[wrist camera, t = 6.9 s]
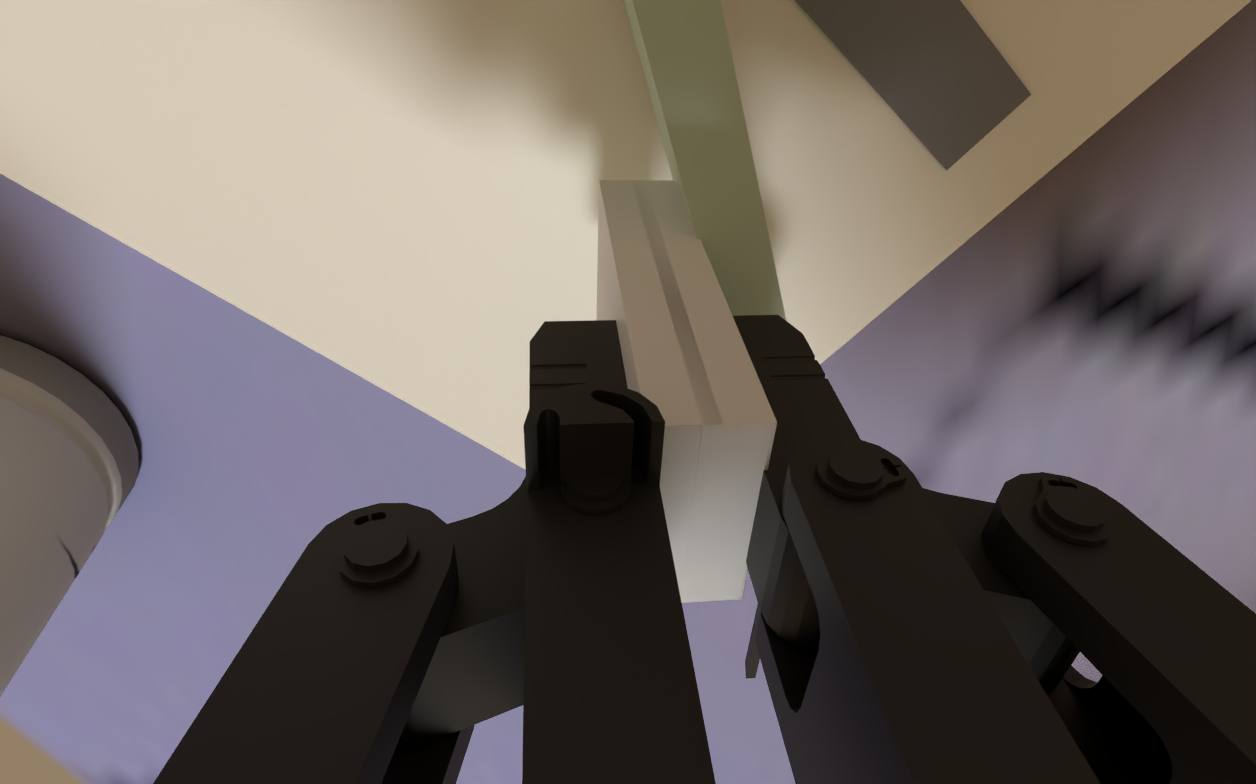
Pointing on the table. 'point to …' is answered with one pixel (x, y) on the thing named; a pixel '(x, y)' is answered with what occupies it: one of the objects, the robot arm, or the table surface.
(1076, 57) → the card
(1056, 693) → the robot arm
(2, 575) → the travel mug
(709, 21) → the hinged rail
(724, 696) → the table surface
